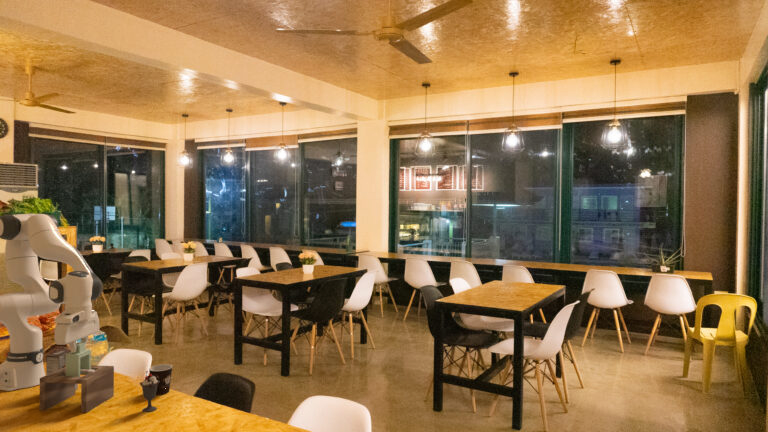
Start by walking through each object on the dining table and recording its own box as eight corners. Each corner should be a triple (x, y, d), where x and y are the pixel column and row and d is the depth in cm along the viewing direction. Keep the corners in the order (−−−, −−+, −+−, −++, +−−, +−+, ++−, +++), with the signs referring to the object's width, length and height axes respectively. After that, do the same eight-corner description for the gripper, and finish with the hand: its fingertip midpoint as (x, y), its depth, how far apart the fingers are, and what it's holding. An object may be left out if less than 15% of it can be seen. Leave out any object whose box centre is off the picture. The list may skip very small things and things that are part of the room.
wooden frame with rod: (39, 410, 180) (39, 375, 180) (70, 394, 196) (70, 362, 196) (86, 412, 179) (86, 377, 178) (113, 396, 195) (113, 363, 194)
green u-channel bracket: (65, 379, 184) (65, 346, 184) (78, 373, 191) (78, 341, 191) (78, 380, 183) (78, 346, 183) (90, 373, 190) (91, 341, 190)
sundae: (139, 414, 178) (140, 373, 177) (139, 407, 184) (139, 368, 183) (159, 411, 181) (160, 370, 180) (158, 404, 187) (159, 365, 186)
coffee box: (65, 387, 203) (65, 348, 203) (78, 388, 202) (78, 349, 202) (45, 395, 194) (45, 355, 194) (59, 397, 193) (59, 356, 193)
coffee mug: (167, 386, 206) (167, 362, 205) (175, 392, 199) (175, 367, 199) (137, 393, 197) (138, 369, 197) (145, 399, 191) (145, 374, 191)
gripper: (88, 308, 197) (88, 342, 197) (50, 319, 177) (50, 357, 177) (103, 308, 197) (103, 343, 197) (67, 320, 177) (67, 358, 177)
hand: (78, 350), depth 187 cm, fingers closed on green u-channel bracket, 3 cm apart
